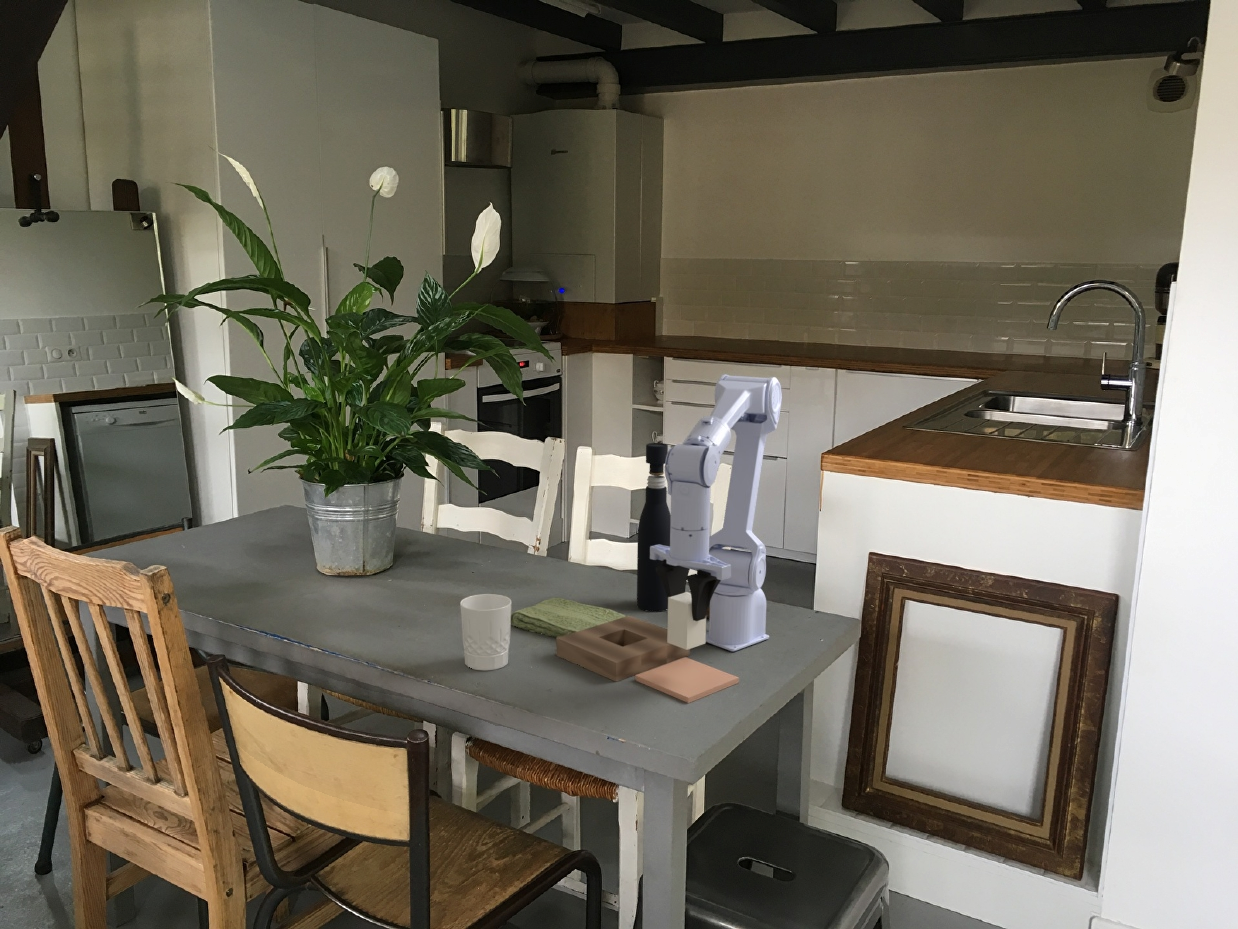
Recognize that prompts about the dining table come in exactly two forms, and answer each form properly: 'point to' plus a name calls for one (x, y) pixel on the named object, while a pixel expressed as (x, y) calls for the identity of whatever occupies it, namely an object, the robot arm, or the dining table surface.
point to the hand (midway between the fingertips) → (687, 615)
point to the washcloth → (561, 617)
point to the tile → (687, 679)
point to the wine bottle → (653, 532)
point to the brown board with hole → (619, 648)
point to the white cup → (486, 630)
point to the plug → (684, 623)
